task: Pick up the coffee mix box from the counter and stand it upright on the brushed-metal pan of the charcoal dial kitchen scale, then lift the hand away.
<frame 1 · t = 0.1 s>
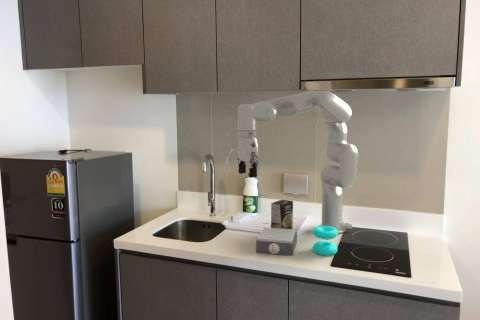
hand: (247, 175, 165), 31 cm above the worktop, tool pointing down, fingers open, 9 cm apart
donuts: (324, 252, 163), on the worktop
coffee box: (281, 236, 183), on the worktop
scale: (277, 247, 169), on the worktop
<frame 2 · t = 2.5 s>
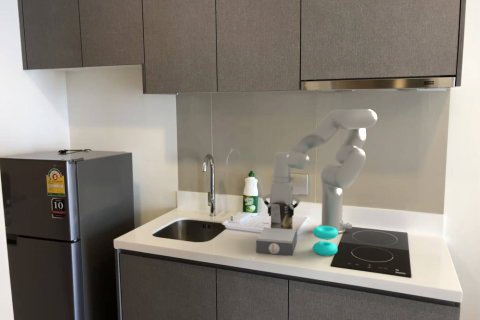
hand: (280, 216, 181), 9 cm above the worktop, tool pointing down, fingers open, 9 cm apart
nothing on the worktop moved.
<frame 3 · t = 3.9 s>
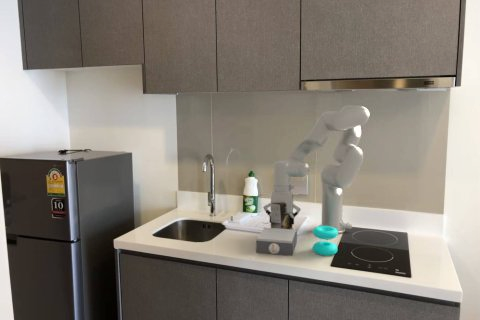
hand: (281, 224, 182), 5 cm above the worktop, tool pointing down, fingers closed on coffee box, 8 cm apart
coffee box: (281, 236, 183), on the worktop, touching gripper
everything else where it was.
when the fingers open (12 cm above the worktop, at t = 10.5 s): coffee box drops 1 cm, resting on scale.
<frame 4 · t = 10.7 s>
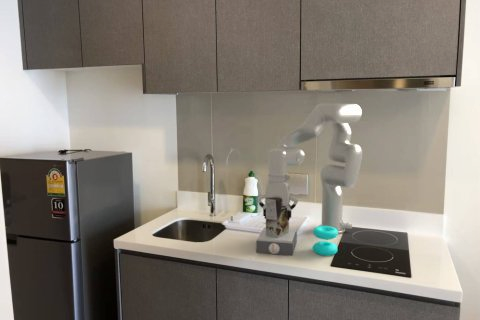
hand: (277, 218, 167), 13 cm above the worktop, tool pointing down, fingers open, 9 cm apart
coffee box: (277, 234, 168), point 6 cm above the worktop, touching scale
everything else where it was.
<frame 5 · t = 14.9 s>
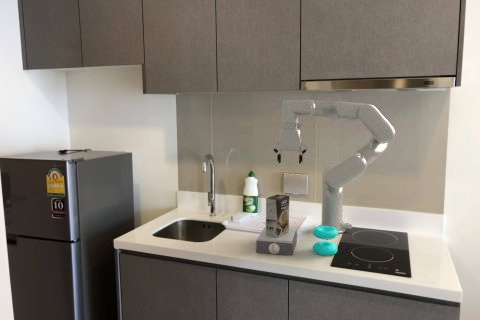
hand: (289, 162, 187), 32 cm above the worktop, tool pointing down, fingers open, 9 cm apart
nothing on the worktop moved.
at the end: coffee box inside the target area on the scale (0.3 cm from its centre), point 5.8 cm above the scale's base; coffee box tilted 0°; the gripper is holding nothing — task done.
